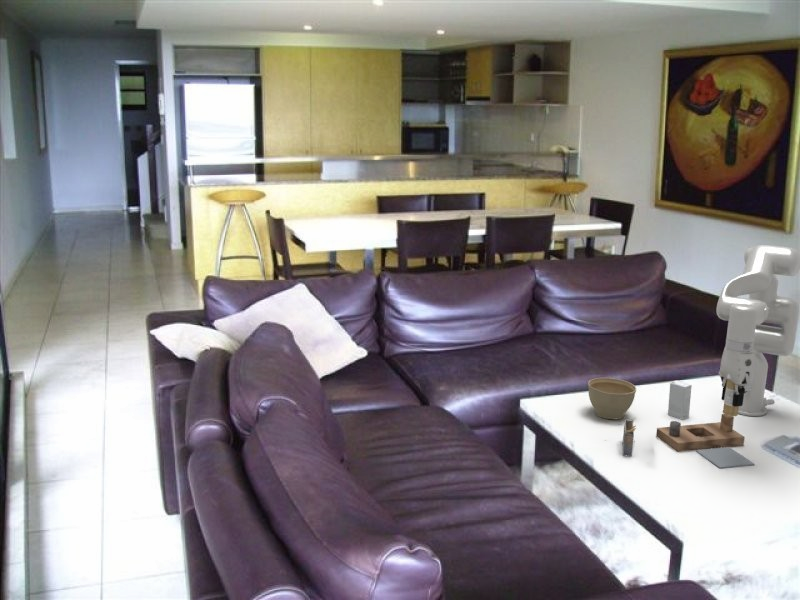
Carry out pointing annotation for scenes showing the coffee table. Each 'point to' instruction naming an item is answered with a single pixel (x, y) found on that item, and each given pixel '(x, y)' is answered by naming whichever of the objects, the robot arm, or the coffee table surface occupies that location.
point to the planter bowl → (611, 397)
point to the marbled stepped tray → (628, 437)
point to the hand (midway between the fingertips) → (731, 402)
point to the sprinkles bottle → (730, 399)
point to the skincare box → (679, 399)
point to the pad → (724, 457)
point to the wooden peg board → (711, 432)
